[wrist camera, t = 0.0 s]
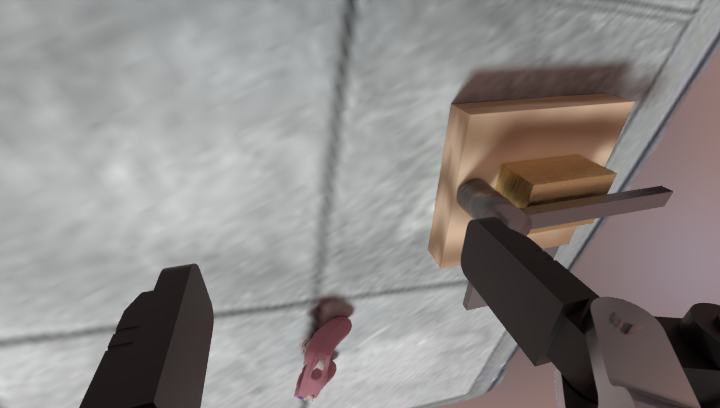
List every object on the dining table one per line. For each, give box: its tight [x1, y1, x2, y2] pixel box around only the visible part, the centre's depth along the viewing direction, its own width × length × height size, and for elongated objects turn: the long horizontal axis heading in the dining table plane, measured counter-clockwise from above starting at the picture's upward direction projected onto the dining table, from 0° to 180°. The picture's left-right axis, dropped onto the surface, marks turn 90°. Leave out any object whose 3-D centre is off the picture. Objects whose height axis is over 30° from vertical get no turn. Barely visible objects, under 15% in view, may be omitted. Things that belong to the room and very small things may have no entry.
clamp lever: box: [456, 178, 673, 236], centre depth 27 cm, size 18×3×6 cm, turn 90°
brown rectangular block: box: [495, 154, 617, 235], centre depth 28 cm, size 5×8×4 cm, turn 90°
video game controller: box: [294, 317, 352, 402], centre depth 37 cm, size 10×5×7 cm, turn 165°
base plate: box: [428, 93, 635, 269], centre depth 31 cm, size 16×16×3 cm
